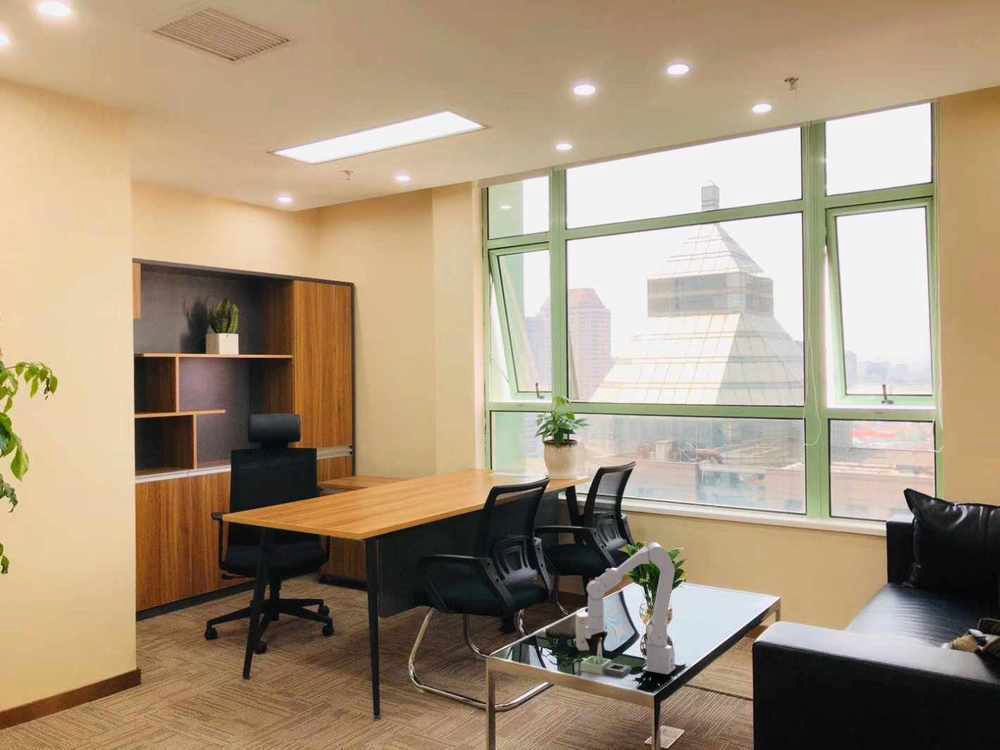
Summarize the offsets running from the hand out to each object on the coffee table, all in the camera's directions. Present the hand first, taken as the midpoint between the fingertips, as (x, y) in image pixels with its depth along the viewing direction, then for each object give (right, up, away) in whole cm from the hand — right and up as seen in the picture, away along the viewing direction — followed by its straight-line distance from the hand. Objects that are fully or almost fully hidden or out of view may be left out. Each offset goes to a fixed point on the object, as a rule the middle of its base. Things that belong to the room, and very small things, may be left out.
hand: (596, 653), depth 291 cm
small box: (0, -6, +25) cm, 26 cm away
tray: (0, -5, 0) cm, 5 cm away
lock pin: (0, -3, -1) cm, 3 cm away
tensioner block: (+7, -5, -4) cm, 10 cm away
